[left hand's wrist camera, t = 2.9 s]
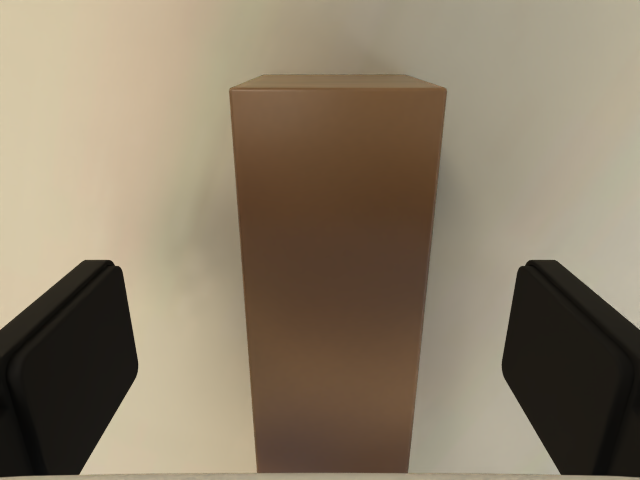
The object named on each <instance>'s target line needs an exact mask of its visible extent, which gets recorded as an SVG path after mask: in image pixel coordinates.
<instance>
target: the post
mask: <svg viewBox="0 0 640 480" xmlns="http://www.w3.org/2000/svg"><path fill="white" fill-rule="evenodd" d="M229 96H230V110H231V123H232V137H233V151H234V164H235V178H236V191H237V205H238V219H239V232H240V246H241V259H242V273H243V287H244V300H245V314H246V328H247V341H248V355H249V368H250V382H251V396H252V409H253V423H254V437H255V450H256V464H257V473H408V467H409V457H410V448H411V438H412V428H413V418H414V409H415V399H416V389H417V379H418V370H419V360H420V350H421V340H422V330H423V321H424V311H425V301H426V291H427V282H428V272H429V262H430V252H431V243H432V233H433V223H434V213H435V204H436V194H437V184H438V174H439V165H440V155H441V145H442V135H443V126H444V116H445V106H446V96H447V90H446V88H444V87H441V86H438V85H435V84H432V83H429V82H426V81H422V80H419V79H416V78H413V77H410V76H407V75H262V76H259V77H257V78H254V79H252V80H249V81H247V82H244V83H242V84H239V85H237V86H234V87H232V88H230V90H229Z"/></svg>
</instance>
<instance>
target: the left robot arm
mask: <svg viewBox="0 0 640 480" xmlns="http://www.w3.org/2000/svg"><path fill="white" fill-rule="evenodd" d="M137 372H138V359H137V353H136V347H135V341H134V335H133V330H132V324H131V318H130V312H129V306H128V301H127V295H126V289H125V283H124V277H123V272H122V269H121V268H120V267H119V266H115V265H114V263H113V262H112V261H111V260H84V261H82V262H81V263H80V264H79V265H78V266H76V267H75V268H74V269H73V270H72V271H70V272H69V273H68V274H67V275H66V276H64V277H63V278H62V279H61V280H60V281H58V282H57V283H56V284H55V285H54V286H52V287H51V288H50V289H49V290H48V291H46V292H45V293H44V294H43V295H42V296H40V297H39V298H38V299H37V300H36V301H34V302H33V303H32V304H31V305H30V306H28V307H27V308H26V309H25V310H24V311H22V312H21V313H20V314H19V315H18V316H16V317H15V318H14V319H13V320H12V321H10V322H9V323H8V324H7V325H6V326H4V327H3V328H2V329H1V330H0V480H640V330H639V329H638V328H637V327H636V326H634V325H633V324H632V323H631V322H630V321H628V320H627V319H626V318H625V317H624V316H622V315H621V314H620V313H619V312H618V311H616V310H615V309H614V308H613V307H612V306H610V305H609V304H608V303H607V302H606V301H604V300H603V299H602V298H601V297H600V296H598V295H597V294H596V293H595V292H594V291H592V290H591V289H590V288H589V287H588V286H586V285H585V284H584V283H583V282H582V281H580V280H579V279H578V278H577V277H576V276H574V275H573V274H572V273H571V272H570V271H568V270H567V269H566V268H565V267H564V266H562V265H561V264H560V263H559V262H558V261H556V260H529V261H528V262H527V263H526V265H525V266H521V267H520V268H519V269H518V272H517V277H516V283H515V289H514V295H513V301H512V306H511V312H510V318H509V324H508V330H507V335H506V341H505V347H504V353H503V359H502V372H503V376H504V378H505V380H506V382H507V383H508V385H509V387H510V389H511V390H512V392H513V394H514V395H515V397H516V399H517V400H518V402H519V404H520V406H521V407H522V409H523V411H524V412H525V414H526V416H527V418H528V419H529V421H530V423H531V424H532V426H533V428H534V429H535V431H536V433H537V435H538V436H539V438H540V440H541V441H542V443H543V445H544V447H545V448H546V450H547V452H548V453H549V455H550V457H551V458H552V460H553V462H554V464H555V465H556V467H557V469H558V470H559V472H560V474H561V475H533V474H460V473H180V474H107V475H79V474H80V472H81V470H82V469H83V467H84V465H85V464H86V462H87V460H88V458H89V457H90V455H91V453H92V452H93V450H94V448H95V447H96V445H97V443H98V441H99V440H100V438H101V436H102V435H103V433H104V431H105V429H106V428H107V426H108V424H109V423H110V421H111V419H112V418H113V416H114V414H115V412H116V411H117V409H118V407H119V406H120V404H121V402H122V400H123V399H124V397H125V395H126V394H127V392H128V390H129V389H130V387H131V385H132V383H133V382H134V380H135V378H136V376H137Z"/></svg>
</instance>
